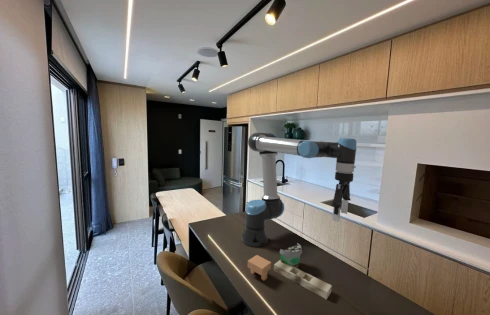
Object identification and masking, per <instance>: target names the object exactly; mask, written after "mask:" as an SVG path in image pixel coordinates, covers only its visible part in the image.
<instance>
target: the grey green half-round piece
mask: <svg viewBox="0 0 490 315" xmlns="http://www.w3.org/2000/svg"><path fill="white" fill-rule="evenodd" d="M279 254H280V260H281V262H282V263H284V264H287V265H291V266H293V267H295V268H297V269H299V266H300V260H301V259H300V258H301V255H302V254H303V248H302V245H301V244H299V243H298V242H297V243H296V244H295V245H291V246H288V247H286V248H284V249H281V248H280V250H279Z"/></svg>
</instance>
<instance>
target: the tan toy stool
mask: <svg viewBox="0 0 490 315" xmlns="http://www.w3.org/2000/svg"><path fill="white" fill-rule="evenodd" d="M247 268H248V269H250V274H252V275H254V274H255V273H256V274H258V275H259V276H260V278H261V280H262V281H263V282H264V281H266V280H267V279H268V272H269V271H270V270H271V268H272V262H271V261H269V260H268V259H266V258H264V257H262V256H260V255H258V254H256V255H254V256H253V257H251V258H249V259H248V260H247Z"/></svg>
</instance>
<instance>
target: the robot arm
mask: <svg viewBox="0 0 490 315" xmlns="http://www.w3.org/2000/svg"><path fill="white" fill-rule="evenodd" d="M247 144H248V147H249V149H250V150H252V151H253V152H259V154H258V155H259V156H260V157H261V164H262V184H263V195H262V196H261V199H252V200H249V201H248V202H247V203H246V207H245V226H244V229H243V233H242V235H241V241H242V243H243V244H244V245H247V246H249V247H252V248H253V247H257V248H258V247H262V246H265V245H267V243H268V236H267V231H266V222H267V221H270V220H274V219H277V218H279V217H281V216H282V215H283V214H284V212H285V205H284V202H283V200H282V199H281V196H280V195H279V193H278V181H277V178H278V177H277V165H276V164H277V163H276V158H277V155H278V153H280V154H285V155H293V156H298V157H302V158H303V159H305V158H306V159H313V158H314V159H315V158H333V159H336V164H335V172H334V173H335V174H334V180H336V181H338V183H336V185H335V190H334V196H333V200H332V203H331V206H332V207H333V208H332V210H333V211H332V221H334V222H337V223H339V222H340V217H341V213H342V214H345V215H348V211H349V210H348V209H349V201H351V196H350V195H351V192H350V190H351V188H350V183H352V182H353V181H354V172H355V169H356V167H357V166H355V163H356V161H355V160H356V155H357V154H356V153H357V140H356V139H355V138H350V137H349V138H348V137H343V138H342V137H340V138H338V140H337V142H336V141H335V142H333V141H323V140H321V141H319V140H318V141H313V140H303V139H293V138H282V137H280V136H278V135H277V134H275V133H271V132H270V133H269V132H255V133H252V134H250V136H249V137H248V140H247Z"/></svg>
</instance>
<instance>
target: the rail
mask: <svg viewBox="0 0 490 315" xmlns="http://www.w3.org/2000/svg"><path fill="white" fill-rule="evenodd" d="M273 271H274V272H276V273H277V274H279V275H282V276H283V277H284V276H285V278H286V279H288V280H289V281H291V282H294V283H295V284H296V285H297V284H298V285H299V286H300V287H303V288H304V289H306V290H308V291H310V292H312V293H313V294H315V295H318V296H320V297H322V299H323V298H324V300H328V298H329V296H330V295H331V293H332V287H333V286H332V285H333V284H332V285H331V284H330V283H327V282H325V281H323V280H321V278H317V277H315V276H313V275H312V274H310V273H307V272H305V271H303V270H301V269H299V268H298V269H297V268H295V267H293V266H291V265H287V264H284V263H282V262H281V259H279V260H278V261H276V263H274V264H273Z"/></svg>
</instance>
